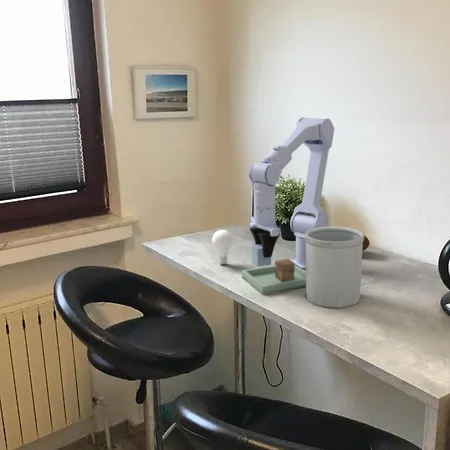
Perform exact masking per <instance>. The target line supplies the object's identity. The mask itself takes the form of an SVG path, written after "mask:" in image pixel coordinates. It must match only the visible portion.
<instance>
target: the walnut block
mask: <svg viewBox="0 0 450 450" xmlns="http://www.w3.org/2000/svg"><path fill="white" fill-rule="evenodd" d="M291 260H292V259H289V258H284V259H283V258H282V259H277V260H274V266H275V278H277V279H278V280H280V281H281V282H284V281H290V280H294V265H295V264H294V262H292V261H291Z"/></svg>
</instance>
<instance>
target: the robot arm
mask: <svg viewBox="0 0 450 450" xmlns="http://www.w3.org/2000/svg"><path fill="white" fill-rule="evenodd" d="M334 134H335V127H334V124H333V122H332V120H331V119H330V118H313V117H302V116H301V117H299V118H298V120H297V121H296V122H295V123H294V128H293V131H292V132H291V134H290V135H289V136H288V137H287V139H285V142H284V143H283V144H282V145H281V144H278V145H274V146H273V147H272V149H271V151H270V152H269V153H268V154H267V155H266V156H265V157H264V158H263V159H262V160H261V161H258V162H256V163H254V164H252V166H251V167H250V170H249V173H248V179H249V181H250V182H251V188H252V190H253V216H251V218H250V223H249V226H250V227H249V230H250V233H251V234H252V237H253V241H254V245H257V244H262V249H263V256H264V257H265V258H267V257H271V258H272V256H273V253H274V250H275V245H276V244H277V241H278V239H279V237H280V236H281V233H280V229H279V228H278V226H277V223H276V185H277V184H278V183H279V180H280V179H281V175H282V172H283V170H284V169H285V168H286V166H287V165H288V164H289V163H290V162H291V161H292V159H293V155H292V154H293V153H294V152H296V151H297V150H298V149H299V148H300V147H301V146H302V145H304V146H306V147H308V150H310V153H309V161H308V166H307V173H306V178H305V185H304V191H303V197H302V203H300V204H299V205H297V206H296V207H294V210H293V214H292V216H291V217H290V218H291V219H290V222H289V224H290V230H291V232H293V235H294V236H295V258H294V259H293V258H292V259H290V260H291V261H292V262H294V265H296V266H297V267H299V268H300V269H302V270H304V269H306V240H305V232H306V231H308V230H310V229H314V228H319V227H328V226H327V225H328V224H327V212H326V211H325V210H324V208H323V207H321V198H322V195H323V194H322V193H323V188H324V181H325V177H326V176H325V175H326V171H327V164H328V158H329V157H328V156H329V151H330V149H331V148H332V147H333V141H334Z"/></svg>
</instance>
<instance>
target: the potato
mask: <svg viewBox="0 0 450 450" xmlns="http://www.w3.org/2000/svg"><path fill="white" fill-rule="evenodd" d="M370 243H371V242H370V240H369V238H368V237H367V236H366V235H365V234H364V241H363V248H362V252H364V251H366V250H367V249H369V247H370Z"/></svg>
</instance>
